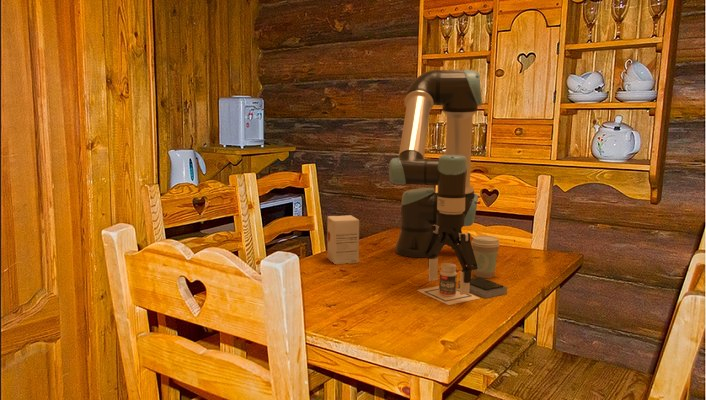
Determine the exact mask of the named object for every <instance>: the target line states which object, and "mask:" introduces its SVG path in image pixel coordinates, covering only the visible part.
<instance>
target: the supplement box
mask: <svg viewBox="0 0 706 400" xmlns="http://www.w3.org/2000/svg"><path fill="white" fill-rule="evenodd" d="M326 219H327V220H326V221H327V229H326V230H327V231H326V232H327V235H326V236H327V259H328V260H329V261H330V262H331V263H332V262H333V263H334V265H335V264H336V265H345V264H346V263H348V264H358V263H359V262H360V261H359V260H360V253H359V252H360V220H359V219H358V218H357V217H356V216H353V215H352V214H351V215H350V214H349V215H348V214H346V215H329V216H327V218H326ZM333 263H332V264H333Z"/></svg>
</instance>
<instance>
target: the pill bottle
mask: <svg viewBox="0 0 706 400" xmlns="http://www.w3.org/2000/svg"><path fill="white" fill-rule="evenodd" d="M440 266H441V267H440V271H439V282H438V286H439V294H440V295H442V296H454V295H456V288H457V282H458V281H457V279H458V273H457V271H456V270H457V265H456V264H454V263H451V262H450V263H449V262H443V263H441V265H440Z"/></svg>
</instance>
